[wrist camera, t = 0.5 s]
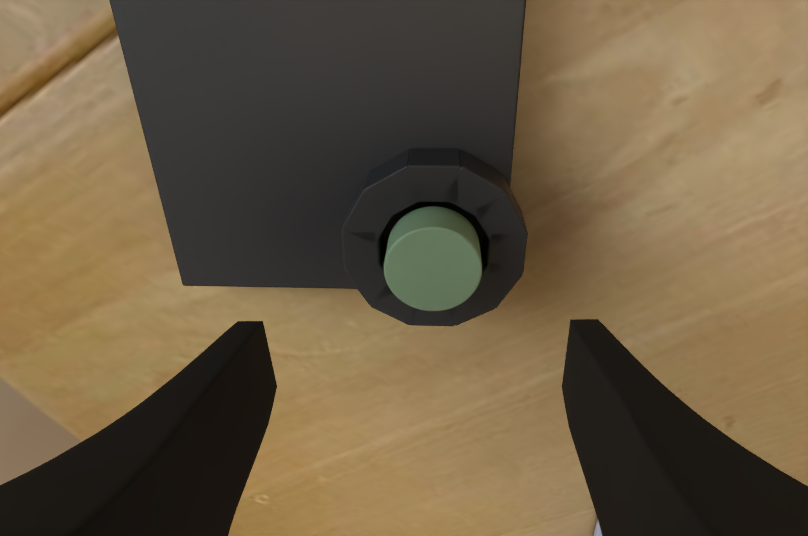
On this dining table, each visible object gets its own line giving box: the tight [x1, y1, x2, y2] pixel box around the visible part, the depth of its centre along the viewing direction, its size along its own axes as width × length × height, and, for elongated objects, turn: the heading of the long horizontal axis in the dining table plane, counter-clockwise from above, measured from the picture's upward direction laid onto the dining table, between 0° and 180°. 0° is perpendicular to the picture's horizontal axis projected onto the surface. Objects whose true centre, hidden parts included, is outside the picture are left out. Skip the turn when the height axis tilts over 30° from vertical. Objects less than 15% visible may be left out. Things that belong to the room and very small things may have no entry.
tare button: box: [384, 206, 482, 311], centre depth 18 cm, size 3×3×2 cm
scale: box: [110, 0, 528, 326], centre depth 17 cm, size 14×12×3 cm
